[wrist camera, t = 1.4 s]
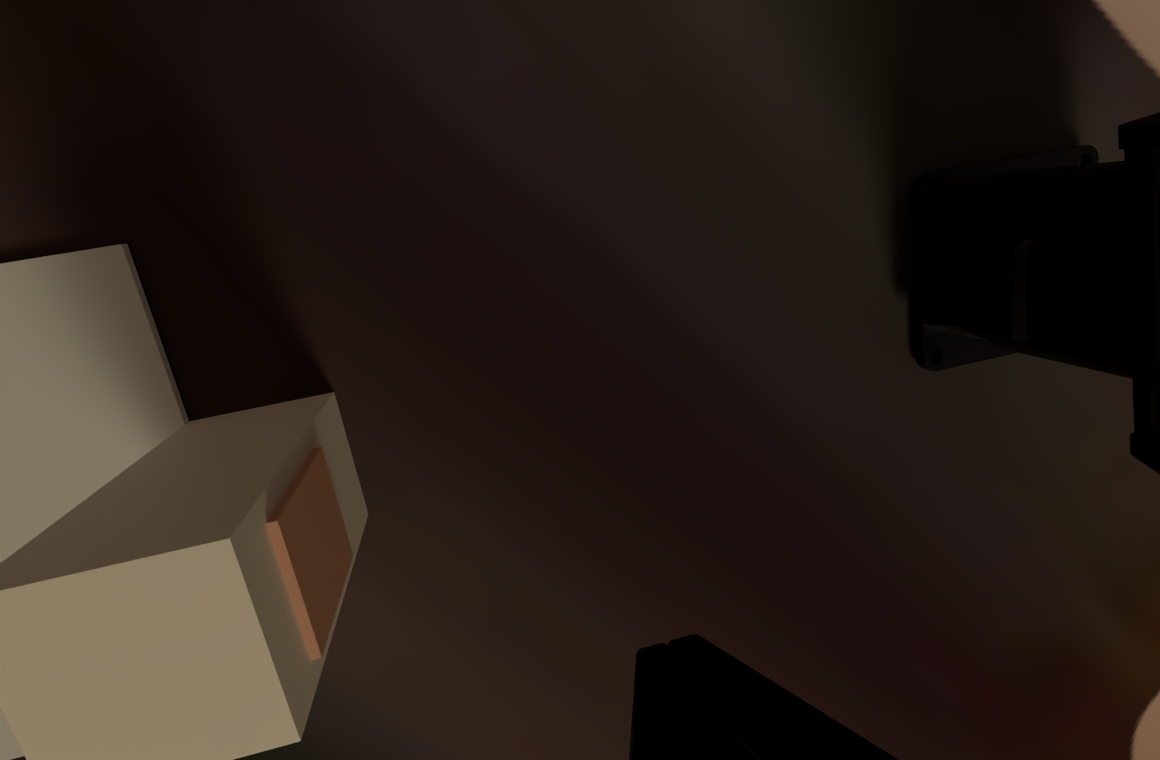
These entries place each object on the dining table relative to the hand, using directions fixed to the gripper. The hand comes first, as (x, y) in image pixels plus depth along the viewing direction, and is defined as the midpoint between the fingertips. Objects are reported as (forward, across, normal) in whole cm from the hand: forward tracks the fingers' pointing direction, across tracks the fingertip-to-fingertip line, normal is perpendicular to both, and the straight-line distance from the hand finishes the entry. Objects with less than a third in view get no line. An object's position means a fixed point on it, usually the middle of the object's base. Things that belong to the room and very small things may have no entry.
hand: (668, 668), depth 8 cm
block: (+12, +8, 0) cm, 14 cm away
